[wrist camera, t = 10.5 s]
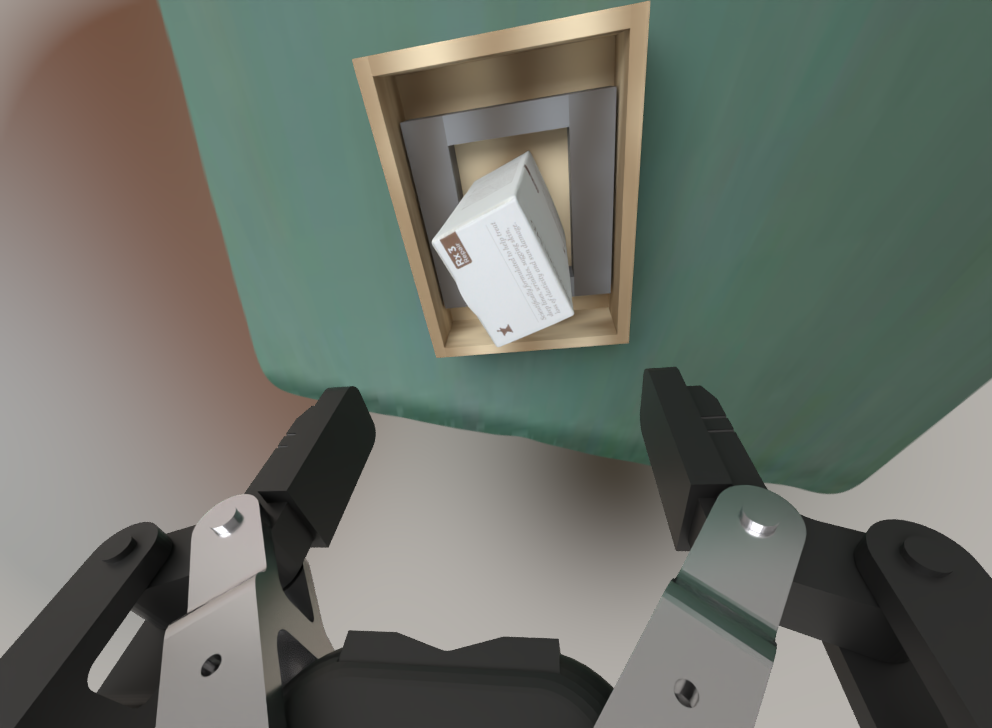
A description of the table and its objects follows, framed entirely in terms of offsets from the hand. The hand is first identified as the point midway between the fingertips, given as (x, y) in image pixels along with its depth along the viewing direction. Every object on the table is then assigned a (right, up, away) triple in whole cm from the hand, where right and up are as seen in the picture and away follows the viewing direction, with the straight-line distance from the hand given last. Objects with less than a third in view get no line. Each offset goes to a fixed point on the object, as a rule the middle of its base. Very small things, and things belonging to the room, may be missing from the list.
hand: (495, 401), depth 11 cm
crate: (+2, +12, +16) cm, 21 cm away
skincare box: (+2, +12, +16) cm, 20 cm away
